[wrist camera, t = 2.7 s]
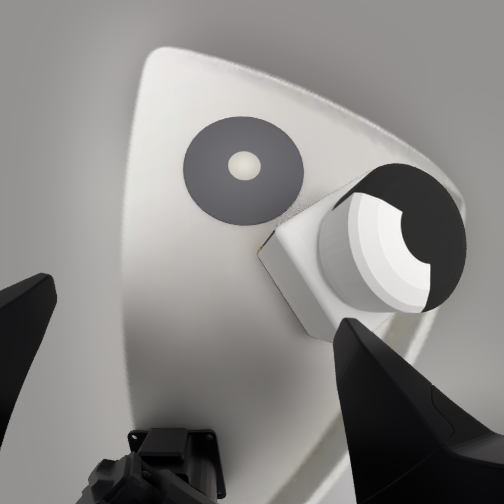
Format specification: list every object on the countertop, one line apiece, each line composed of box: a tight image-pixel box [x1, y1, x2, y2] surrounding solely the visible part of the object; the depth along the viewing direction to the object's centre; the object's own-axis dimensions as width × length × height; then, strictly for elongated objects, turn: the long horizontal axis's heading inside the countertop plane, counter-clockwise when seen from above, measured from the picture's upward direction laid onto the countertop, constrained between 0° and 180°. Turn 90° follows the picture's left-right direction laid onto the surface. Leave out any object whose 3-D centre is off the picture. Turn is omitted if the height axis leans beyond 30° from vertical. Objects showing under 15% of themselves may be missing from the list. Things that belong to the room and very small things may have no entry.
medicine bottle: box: [258, 163, 466, 343], centre depth 16 cm, size 7×7×12 cm
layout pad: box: [183, 117, 304, 225], centre depth 22 cm, size 9×9×1 cm
